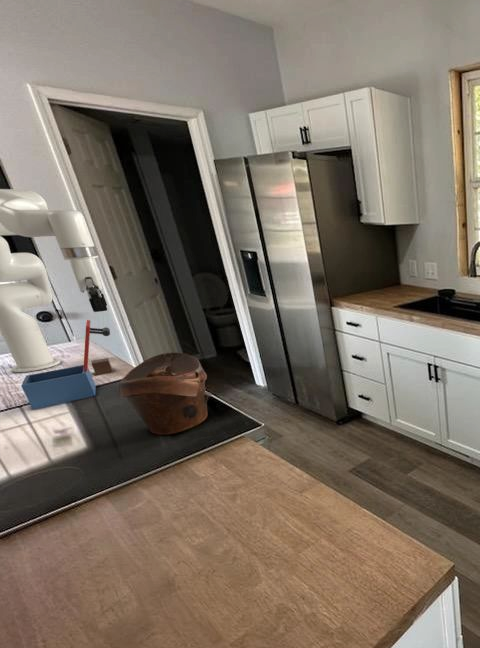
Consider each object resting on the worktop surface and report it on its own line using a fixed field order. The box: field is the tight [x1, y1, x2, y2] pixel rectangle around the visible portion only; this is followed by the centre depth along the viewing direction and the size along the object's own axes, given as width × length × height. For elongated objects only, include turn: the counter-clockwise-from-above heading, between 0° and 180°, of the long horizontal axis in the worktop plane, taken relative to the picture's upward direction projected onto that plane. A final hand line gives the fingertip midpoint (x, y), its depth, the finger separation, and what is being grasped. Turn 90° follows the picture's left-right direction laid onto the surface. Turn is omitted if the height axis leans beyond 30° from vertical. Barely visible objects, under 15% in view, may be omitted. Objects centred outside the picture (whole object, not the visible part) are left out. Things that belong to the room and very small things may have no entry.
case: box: [118, 352, 213, 436], centre depth 108 cm, size 18×20×18 cm
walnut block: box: [90, 357, 114, 376], centre depth 150 cm, size 4×4×4 cm
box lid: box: [83, 319, 111, 372], centre depth 132 cm, size 14×12×5 cm
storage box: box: [20, 364, 97, 410], centre depth 129 cm, size 14×12×8 cm
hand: (100, 308), depth 131 cm, fingers open, 9 cm apart
